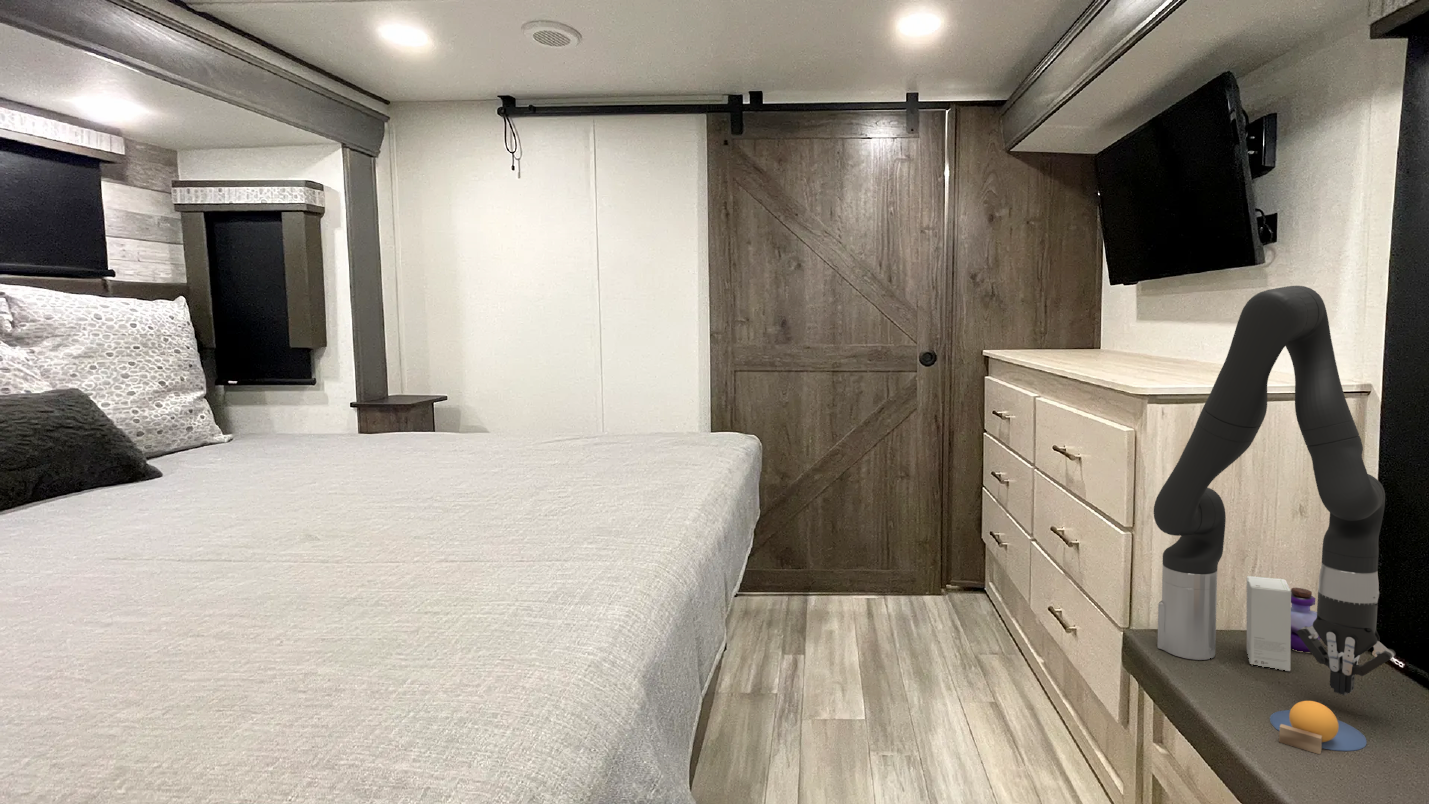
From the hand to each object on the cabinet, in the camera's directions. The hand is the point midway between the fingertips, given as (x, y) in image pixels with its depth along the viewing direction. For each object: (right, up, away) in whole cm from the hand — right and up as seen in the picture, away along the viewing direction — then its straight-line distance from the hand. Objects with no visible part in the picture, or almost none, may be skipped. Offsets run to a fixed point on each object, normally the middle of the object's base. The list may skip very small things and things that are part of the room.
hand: (1341, 692), depth 124 cm
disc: (-9, -4, -5) cm, 11 cm away
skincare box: (+2, -2, +19) cm, 19 cm away
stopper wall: (-15, -5, -10) cm, 18 cm away
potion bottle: (+12, -1, +24) cm, 27 cm away
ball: (-11, -1, -8) cm, 14 cm away
